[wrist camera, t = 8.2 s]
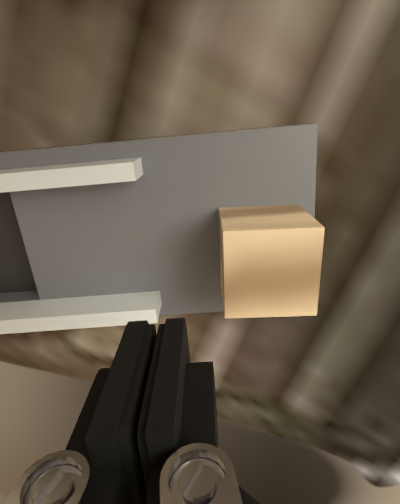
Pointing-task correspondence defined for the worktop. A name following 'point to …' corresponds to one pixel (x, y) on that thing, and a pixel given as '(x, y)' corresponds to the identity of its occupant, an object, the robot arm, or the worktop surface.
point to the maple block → (269, 261)
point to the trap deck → (135, 222)
